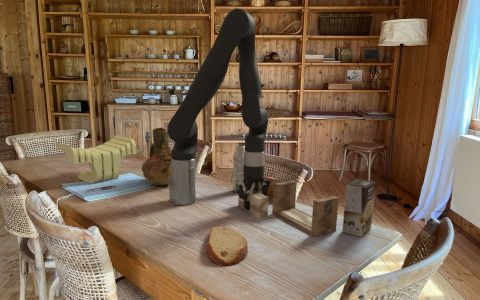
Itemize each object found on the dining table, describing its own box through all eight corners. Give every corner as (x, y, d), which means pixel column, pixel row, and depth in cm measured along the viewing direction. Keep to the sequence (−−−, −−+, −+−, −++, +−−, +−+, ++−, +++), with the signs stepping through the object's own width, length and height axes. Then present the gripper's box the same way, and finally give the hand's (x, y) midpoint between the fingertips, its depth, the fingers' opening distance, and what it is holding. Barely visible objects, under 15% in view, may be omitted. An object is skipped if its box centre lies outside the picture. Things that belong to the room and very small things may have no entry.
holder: (316, 237, 112) (319, 203, 110) (271, 213, 131) (272, 183, 129) (337, 231, 117) (340, 198, 115) (290, 208, 136) (291, 180, 134)
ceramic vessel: (153, 195, 147) (151, 134, 142) (135, 179, 169) (133, 125, 164) (192, 189, 156) (192, 131, 151) (170, 175, 177) (169, 124, 172)
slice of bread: (219, 229, 117) (219, 218, 116) (266, 246, 107) (267, 234, 106) (178, 249, 103) (178, 237, 102) (228, 271, 92) (228, 257, 92)
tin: (252, 194, 152) (253, 175, 150) (256, 192, 154) (257, 173, 153) (284, 202, 143) (285, 181, 142) (288, 200, 146) (289, 179, 144)
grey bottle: (246, 194, 151) (247, 147, 147) (230, 193, 153) (231, 146, 149) (249, 190, 157) (250, 144, 153) (233, 188, 159) (234, 143, 155)
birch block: (258, 218, 127) (258, 198, 125) (238, 205, 138) (238, 187, 137) (267, 216, 129) (268, 196, 127) (247, 203, 140) (247, 186, 139)
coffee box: (361, 237, 113) (365, 188, 110) (341, 231, 117) (345, 183, 114) (371, 228, 120) (376, 181, 117) (353, 223, 124) (357, 178, 121)
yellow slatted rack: (76, 188, 153) (73, 147, 150) (58, 181, 163) (55, 142, 160) (137, 175, 176) (135, 138, 172) (118, 169, 186) (117, 134, 182)
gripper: (243, 167, 123) (241, 215, 126) (276, 163, 131) (274, 208, 134) (231, 163, 129) (230, 208, 133) (264, 159, 137) (262, 202, 140)
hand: (252, 208), depth 133 cm, fingers closed on birch block, 4 cm apart
